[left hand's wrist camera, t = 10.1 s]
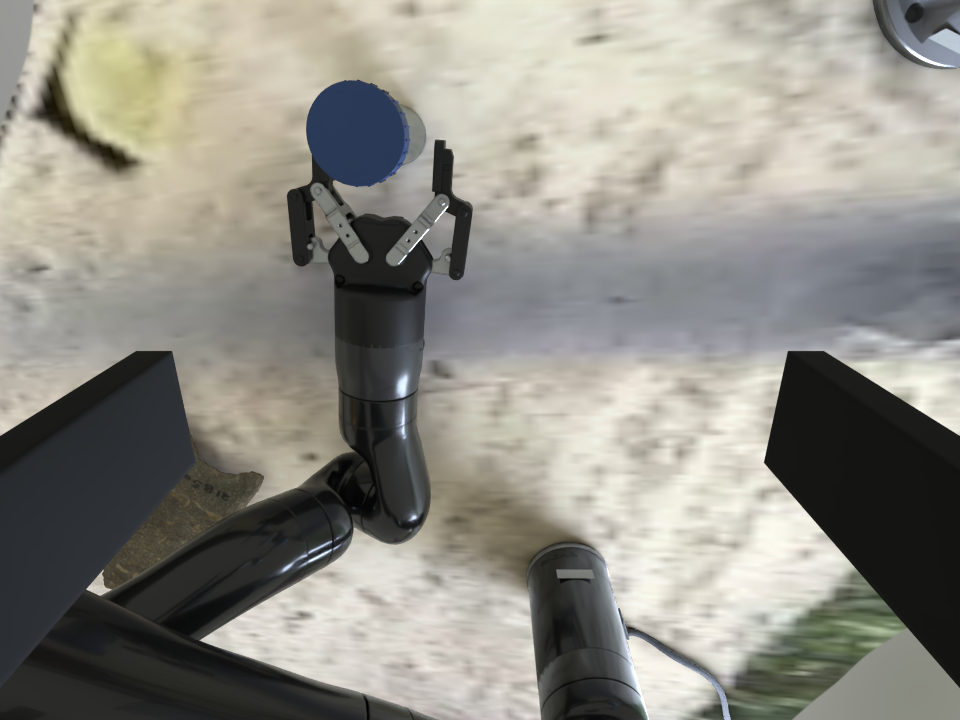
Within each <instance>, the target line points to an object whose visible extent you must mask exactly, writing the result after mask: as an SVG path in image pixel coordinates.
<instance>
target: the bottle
mask: <svg viewBox="0 0 960 720" xmlns="http://www.w3.org/2000/svg"><path fill="white" fill-rule="evenodd" d="M398 104H399V103H398ZM399 106H400V107H401V109H402V111H403V112H404V113H405V114H406V115H405V117H406V120H407V123H408V126H410V128H409V139H411V141H409V148H408V152H409V153H408V154H407V155H406V157H405V159H404V161H403V165H405V164H408V163H410V162H412V161H414V160H415V159H416V158H417V157H418V156H419V155H420V154H421V153H422V151H423V149H424V146H425V142H426V130H425V126H424V124H423V121H422V120H421V118H420V117H419V115H418V114H417V113H416V112H415V111H414V110H412V109H411V108H409V107H407V106H404V105H401V104H399Z"/></svg>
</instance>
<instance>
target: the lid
mask: <svg viewBox="0 0 960 720" xmlns="http://www.w3.org/2000/svg"><path fill="white" fill-rule="evenodd" d="M377 87H378V86H377V85H374V84H372V83H370V84H368V83H365V82H363V81H360V80H357V81H352V80H349V81H346V80H344V81H342V82H338V83H335V84H333V85H331V86H329V87H328V88H326V89H325V90H324V91H322V92H321V93H320V94H319V95H318V97H317V98H316V99H315V101H314V102H313V104H312V106H311V108H310V111H309V114H308V118H307V124H306V133H307V141H308V145H309V148H310V151H311V153H312V155H313V157H314V159H315V161H316V162H317V164H318V165H319V166H320V167H321V169H322V170H323V171H324V172H325V173H327V174H328V175H329V176H330V177H332V178H333V179H335V180H337V181H339V182H341V183H343V184H347V185H351V186H356V187H358V186H368V187H369V186H372V185H374V184H375V183H377V182H380V183H381V182H383V181H386V178H388V177H390V176H392V175H394V174H396V173H395V172H396V171H397V170H398V169H399V167H400V166H402V165H403V161H404V159H405V157H406V155H407V154H408V153H409V152H408V148H409V141H411V139H409V128H410V126H408V123H407V120H406V117H405V115H406V114H405V113H404V112H403V111H402V109H401V107H400V106H399V104H398V103H399V102H398V101H396V100H394V99H393V98H392V97H391V96H390V95H389V92H387V91H385V90H381V89H379V88H377Z"/></svg>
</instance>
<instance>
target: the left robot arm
mask: <svg viewBox="0 0 960 720" xmlns="http://www.w3.org/2000/svg"><path fill="white" fill-rule="evenodd" d="M873 4H874V10H875V13H876V17H877V20H878V23H879V25H880V28H881V30H882V32H883V34H884V36H885V37H886V39H887V40H888V41H889V43H890V44H891V45H892V46H893V47H894V49H895V50H896V51H898V52H899V53H900V54H901V55H902V56H904V57H905V58H907V59H908V60H910V61H912V62H914V63H916V64H919V65H922V66H925V67H930V68H935V69H955V68H960V0H873ZM195 463H196V460H195V456H194V451H193V446H192V442H191V437H190V432H189V428H188V423H187V418H186V414H185V409H184V404H183V400H182V395H181V390H180V386H179V381H178V377H177V372H176V367H175V363H174V358H173V353H172V351H136V352H134V353H132V354H131V355H129V356H128V357H126V358H124V359H123V360H121V361H120V362H118V363H116V364H115V365H113V366H112V367H110V368H108V369H107V370H105V371H104V372H102V373H100V374H99V375H97V376H96V377H94V378H92V379H91V380H89V381H88V382H86V383H84V384H83V385H81V386H80V387H78V388H76V389H75V390H73V391H72V392H70V393H68V394H67V395H65V396H64V397H62V398H60V399H59V400H57V401H56V402H54V403H52V404H51V405H49V406H48V407H46V408H44V409H43V410H41V411H40V412H38V413H36V414H35V415H33V416H32V417H30V418H28V419H27V420H25V421H24V422H22V423H20V424H19V425H17V426H16V427H14V428H12V429H11V430H9V431H8V432H6V433H4V434H3V435H1V436H0V688H1V686H2V685H3V684H4V683H5V682H6V681H7V679H8V678H9V677H10V676H11V675H12V674H13V673H14V671H15V670H16V669H17V668H18V667H19V666H20V665H21V663H22V662H23V661H24V660H25V659H26V658H27V656H28V655H29V654H30V653H31V652H32V651H33V650H34V648H35V647H36V646H37V645H38V644H39V643H40V642H41V640H42V639H43V638H44V637H45V636H46V635H47V633H48V632H49V631H50V630H51V629H52V628H53V627H54V625H55V624H56V623H57V622H58V621H59V620H60V619H61V617H62V616H63V615H64V614H65V613H66V612H67V610H68V609H69V608H70V607H71V606H72V605H73V604H74V602H75V601H76V600H77V599H78V598H79V597H80V596H81V594H82V593H83V592H84V591H85V590H86V589H87V588H88V586H89V585H90V584H91V583H92V582H93V581H94V579H95V578H96V577H97V576H98V575H99V574H100V573H101V571H102V570H103V569H104V568H105V567H106V566H107V565H108V563H109V562H110V561H111V560H112V559H113V558H114V556H115V555H116V554H117V553H118V552H119V551H120V550H121V548H122V547H123V546H124V545H125V544H126V543H127V542H128V540H129V539H130V538H131V537H132V536H133V535H134V533H135V532H136V531H137V530H138V529H139V528H140V527H141V525H142V524H143V523H144V522H145V521H146V520H147V519H148V517H149V516H150V515H151V514H152V513H153V512H154V510H155V509H156V508H157V507H158V506H159V505H160V504H161V502H162V501H163V500H164V499H165V498H166V497H167V496H168V494H169V493H170V492H171V491H172V490H173V489H174V487H175V486H176V485H177V484H178V483H179V482H180V481H181V479H182V478H183V477H184V476H185V475H186V474H187V473H188V471H189V470H190V469H191V468H192V467H193V466H194V464H195ZM764 463H765V464H766V466H767V467H768V468H769V469H770V470H771V471H772V473H773V474H774V475H775V476H776V477H777V478H778V479H779V481H780V482H781V483H782V484H783V485H784V486H785V487H786V489H787V490H788V491H789V492H790V493H791V494H792V496H793V497H794V498H795V499H796V500H797V501H798V502H799V504H800V505H801V506H802V507H803V508H804V509H805V510H806V512H807V513H808V514H809V515H810V516H811V517H812V519H813V520H814V521H815V522H816V523H817V524H818V525H819V527H820V528H821V529H822V530H823V531H824V532H825V533H826V535H827V536H828V537H829V538H830V539H831V540H832V542H833V543H834V544H835V545H836V546H837V547H838V548H839V550H840V551H841V552H842V553H843V554H844V555H845V556H846V558H847V559H848V560H849V561H850V562H851V563H852V565H853V566H854V567H855V568H856V569H857V570H858V571H859V573H860V574H861V575H862V576H863V577H864V578H865V579H866V581H867V582H868V583H869V584H870V585H871V586H872V588H873V589H874V590H875V591H876V592H877V593H878V594H879V596H880V597H881V598H882V599H883V600H884V601H885V602H886V604H887V605H888V606H889V607H890V608H891V609H892V611H893V612H894V613H895V614H896V615H897V616H898V617H899V619H900V620H901V621H902V622H903V623H904V624H905V625H906V627H907V628H908V629H909V630H910V631H911V632H912V633H913V635H914V636H915V637H916V638H917V639H918V640H919V642H920V643H921V644H922V645H923V646H924V647H925V648H926V650H927V651H928V652H929V653H930V654H931V655H932V656H933V658H934V659H935V660H936V661H937V662H938V663H939V665H940V666H941V667H942V668H943V669H944V670H945V671H946V673H947V674H948V675H949V676H950V677H951V678H952V679H953V681H954V682H955V683H956V684H957V685H958V686H959V688H960V436H959V435H957V434H956V433H954V432H952V431H951V430H949V429H948V428H946V427H944V426H943V425H941V424H940V423H938V422H936V421H935V420H933V419H932V418H930V417H928V416H927V415H925V414H924V413H922V412H920V411H919V410H917V409H916V408H914V407H912V406H911V405H909V404H908V403H906V402H904V401H903V400H901V399H900V398H898V397H896V396H895V395H893V394H892V393H890V392H888V391H887V390H885V389H884V388H882V387H880V386H879V385H877V384H876V383H874V382H872V381H871V380H869V379H868V378H866V377H864V376H863V375H861V374H860V373H858V372H856V371H855V370H853V369H852V368H850V367H848V366H847V365H845V364H844V363H842V362H840V361H839V360H837V359H836V358H834V357H832V356H831V355H829V354H828V353H826V352H824V351H788V353H787V358H786V363H785V367H784V372H783V376H782V381H781V386H780V390H779V395H778V400H777V404H776V409H775V414H774V418H773V423H772V428H771V432H770V437H769V442H768V446H767V451H766V456H765V460H764Z"/></svg>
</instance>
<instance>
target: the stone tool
mask: <svg viewBox="0 0 960 720" xmlns="http://www.w3.org/2000/svg"><path fill="white" fill-rule="evenodd" d="M190 437H191V442H192V446H193V451H194V456H195V460H196V463H195V464H194V466H193V467H192V468H191V469H190V470H189V471H188V473H187V474H186V475H185V476H184V477H183V478H182V479H181V481H180V482H179V483H178V484H177V485H176V486H175V487H174V489H173V490H172V491H171V492H170V493H169V494H168V496H167V497H166V498H165V499H164V500H163V501H162V502H161V504H160V505H159V506H158V507H157V508H156V509H155V510H154V512H153V513H152V514H151V515H150V516H149V517H148V519H147V520H146V521H145V522H144V523H143V524H142V525H141V527H140V528H139V529H138V530H137V531H136V532H135V533H134V535H133V536H132V537H131V538H130V539H129V540H128V542H127V543H126V544H125V545H124V546H123V547H122V548H121V550H120V551H119V552H118V553H117V554H116V555H115V556H114V558H113V559H112V560H111V561H110V562H109V563H108V565H107V566H106V567H105V568H104V572H103V573H102V575H103V577H104V585H105V587H106V588H109V589H114V588H116V587H118V586H119V585H121V584H123V583H125V582H127V581H128V580H130V579H132V578H134V577H135V576H137V575H139V574H140V573H142V572H143V571H145V570H146V569H148V568H150V567H151V566H153V565H154V564H156V563H157V562H159V561H160V560H162V559H163V558H165V557H166V556H168V555H169V554H171V553H172V552H173V551H175V550H176V549H178V548H179V547H181V546H182V545H184V544H185V543H187V542H188V541H190V540H191V539H193V538H194V537H196V536H197V535H199V534H200V533H202V532H203V531H205V530H206V529H208V528H209V527H211V526H212V525H214V524H215V523H217V522H219V521H220V520H222V519H224V518H226V517H227V516H229V515H231V514H233V513H235V512H237V511H239V510H241V509H243V508H245V507H246V505H247V504H248V503H249V501H250V500H251V499H252V498H253V497H254V495H255V494H256V492H258V490H259V487H260V486H261V484H262V482H263V479H264V476H262V475H261V474H259V473H255V472H249V473H240V474H239V475H236V474H230V473H229V474H225V473H222V472H220V471H218V470H216V469H215V468H213V467H210V466H208V465H207V463H205V462H203V461H201V460H200V459H199V456H198V453H197V450H196V447H195V445H194V443H193V441H192V436H191V435H190Z"/></svg>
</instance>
